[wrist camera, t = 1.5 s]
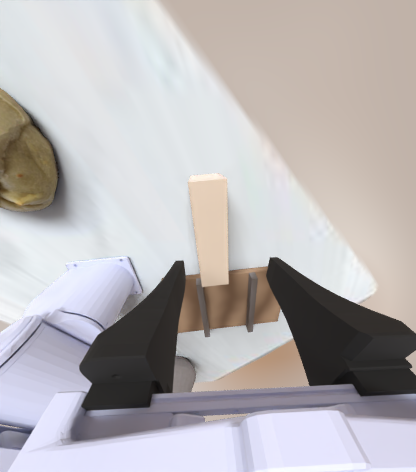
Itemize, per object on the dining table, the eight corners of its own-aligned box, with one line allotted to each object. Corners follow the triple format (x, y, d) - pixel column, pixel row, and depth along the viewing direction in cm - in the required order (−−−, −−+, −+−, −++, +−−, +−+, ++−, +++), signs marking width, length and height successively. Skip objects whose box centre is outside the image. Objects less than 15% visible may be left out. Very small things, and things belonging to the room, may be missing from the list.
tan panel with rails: (178, 328, 32) (176, 340, 30) (162, 278, 25) (158, 289, 23) (275, 316, 33) (281, 328, 31) (286, 264, 26) (294, 274, 24)
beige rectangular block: (201, 259, 24) (202, 286, 19) (190, 175, 18) (187, 182, 13) (221, 257, 24) (228, 284, 19) (218, 173, 18) (227, 178, 13)
